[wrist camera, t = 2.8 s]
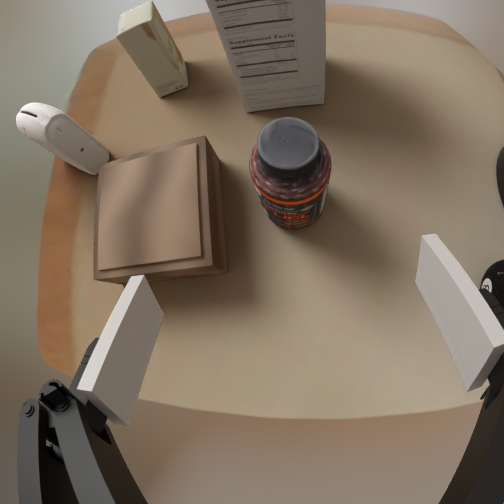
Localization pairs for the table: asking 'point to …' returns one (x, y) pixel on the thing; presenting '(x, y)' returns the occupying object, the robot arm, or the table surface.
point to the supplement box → (274, 50)
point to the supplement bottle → (290, 172)
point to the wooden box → (160, 215)
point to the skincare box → (152, 48)
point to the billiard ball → (495, 281)
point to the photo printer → (62, 136)
